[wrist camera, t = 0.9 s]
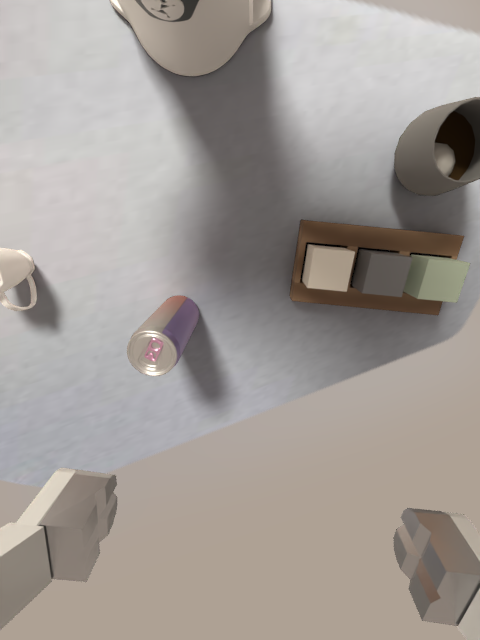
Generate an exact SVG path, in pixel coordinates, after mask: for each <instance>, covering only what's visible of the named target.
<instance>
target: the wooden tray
mask: <svg viewBox="0 0 480 640" xmlns="http://www.w3.org/2000/svg"><path fill="white" fill-rule="evenodd" d="M463 238H464V236H461V235H451V234H441V233H431V232H421V231H410V230H400V229H390V228H380V227H369V226H359V225H349V224H338V223H328V222H318V221H308V220H301V222H300V229H299V236H298V242H297V249H296V255H295V262H294V269H293V275H292V282H291V289H290V298H291V300H292V301H299V302H310V303H320V304H330V305H340V306H350V307H360V308H370V309H380V310H391V311H401V312H411V313H421V314H431V315H438V314H439V311H440V308H441V305H442V302H443V301H435V300H425V299H417V298H415V297H413V296H411V295H409V294H407V293H405V292H403V294H402V297H395V296H385V295H374V294H364V293H361V292H360V291H358V290H357V289H356V288H354V287H353V286H352V284H350V283H351V278H352V274H353V269H354V264H355V260H356V255H357V251H358V247H363V248H374V249H384V250H390V252H392V253H398V254H402V255H406V256H409V255H410V252H415V253H425V254H435V255H438V257H443V258H450V259H455V260H456V259H457V256H458V253H459V250H460V247H461V244H462V241H463ZM306 242H312V243H322V244H333V245H341V248H346V249H349V250H352V251H354V252H355V255H354V260H353V264H352V269H351V274H350V278H349V283H348V288H347V292H344V291H334V290H324V289H314V288H307V287H306V285H305V284H304V283H303V281H302V279H300V278H301V272H302V265H303V259H304V253H305V247H306Z"/></svg>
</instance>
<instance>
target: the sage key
mask: <svg viewBox="0 0 480 640" xmlns="http://www.w3.org/2000/svg"><path fill="white" fill-rule="evenodd" d="M411 257H413V258H412V262H411V265H410V269H409V273H408V276H407V280H406V283H405V287H404V290H403V292H405V293H407V294H409V295H411V296H413V297H415V298H417V299H425V300H435V301H446V302H456V303H457V301H458V298H459V295H460V292H461V289H462V286H463V283H464V280H465V277H466V274H467V271H468V269H469V266H470V263H468V262H463V261H459V260H455V259H450V258H443V257H433V256H423V255H412V254H411Z"/></svg>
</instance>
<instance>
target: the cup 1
mask: <svg viewBox="0 0 480 640" xmlns="http://www.w3.org/2000/svg"><path fill="white" fill-rule="evenodd" d="M34 270H35V267H34V263H33V259H32V257H31V256H29V255H28V254H27V253H26V252H24V251H23V250H12V249H7V248H0V302H1V303H2V304H3V305H4V306H5V307H7V308H8V309H11V310H14V311H23V310H27V309H30V308H32V307H33V306H34V305H35V304H36V301H37V292H36V285H35V282H34V279H33V277H32V276H31V274H32V273H33V271H34ZM25 278H26V279H27V280H28V282H29V286H30V291H31V304H30V305H29V306H27V307H18V306H16V305H13V304H11V303H10V302H9V301H8V299H7V297H6V295H5V293H4V292H5V291H7V290H9V289H11V288H12V287H14V286H16V285H18V284H19V283H20V282H21V281H23V280H24V279H25Z"/></svg>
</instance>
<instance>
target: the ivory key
mask: <svg viewBox="0 0 480 640" xmlns="http://www.w3.org/2000/svg"><path fill="white" fill-rule="evenodd" d="M354 255H355V252H354V251H352V250H349V249H346V248H341V247H331V246H320V245H310V244H308V247H307V253H306V259H305V265H304V271H303V277H302V281H303V283H304V284H305V285H306V287H307V288H314V289H324V290H334V291H344V292H347V288H348V283H349V278H350V274H351V269H352V264H353V260H354Z"/></svg>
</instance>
